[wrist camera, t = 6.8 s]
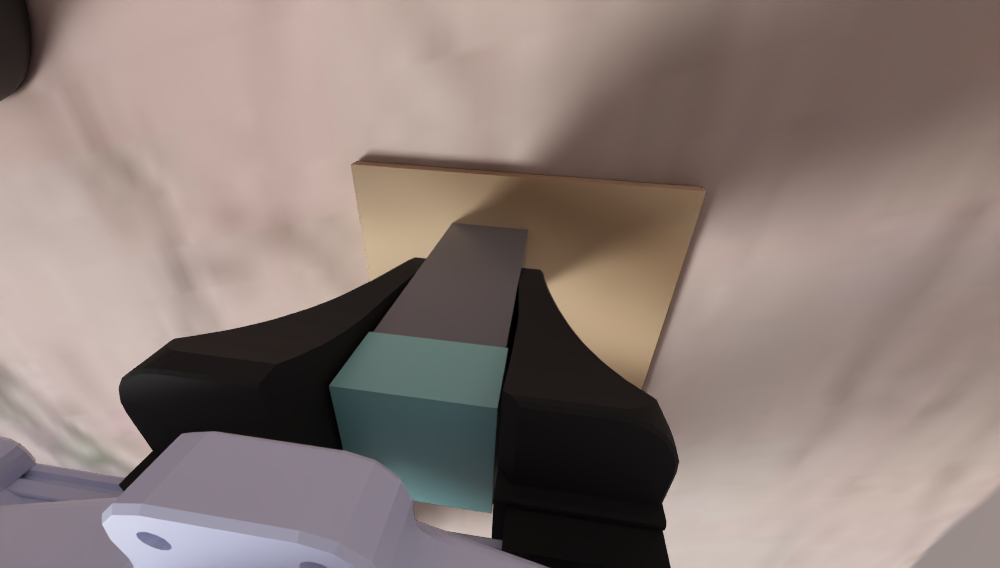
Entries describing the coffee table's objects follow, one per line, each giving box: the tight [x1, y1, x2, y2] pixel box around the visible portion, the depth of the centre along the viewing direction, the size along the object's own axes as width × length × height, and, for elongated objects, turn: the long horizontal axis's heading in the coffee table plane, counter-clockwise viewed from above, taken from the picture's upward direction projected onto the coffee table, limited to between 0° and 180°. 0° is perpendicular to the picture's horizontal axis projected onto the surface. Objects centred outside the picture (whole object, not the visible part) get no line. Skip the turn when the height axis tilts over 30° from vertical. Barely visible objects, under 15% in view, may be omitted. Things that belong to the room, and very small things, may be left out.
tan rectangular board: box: [351, 161, 706, 390], centre depth 17 cm, size 16×12×1 cm
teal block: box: [329, 223, 528, 513], centre depth 11 cm, size 3×3×9 cm
